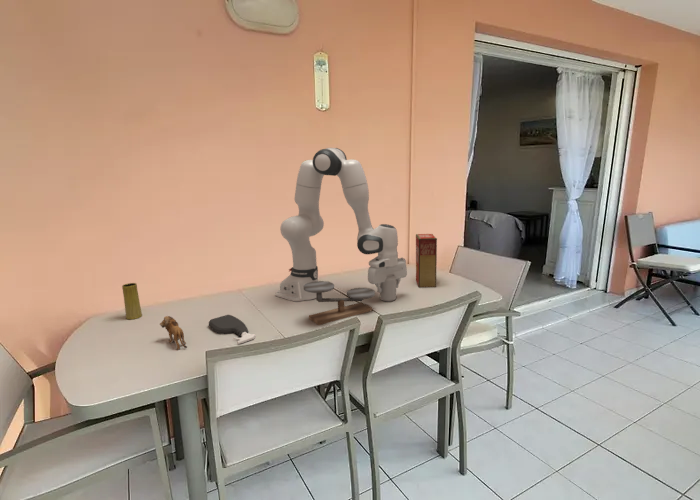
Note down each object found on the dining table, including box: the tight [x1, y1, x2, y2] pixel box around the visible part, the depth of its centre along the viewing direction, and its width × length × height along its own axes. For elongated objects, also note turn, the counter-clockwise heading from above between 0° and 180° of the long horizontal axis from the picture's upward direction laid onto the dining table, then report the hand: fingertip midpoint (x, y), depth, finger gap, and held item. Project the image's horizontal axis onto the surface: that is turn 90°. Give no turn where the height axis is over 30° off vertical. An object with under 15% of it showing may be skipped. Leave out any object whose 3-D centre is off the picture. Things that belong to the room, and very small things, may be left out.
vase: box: [121, 282, 143, 321], centre depth 163 cm, size 6×6×14 cm
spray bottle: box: [208, 314, 257, 345], centre depth 147 cm, size 3×11×24 cm
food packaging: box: [415, 233, 438, 288], centre depth 197 cm, size 13×9×25 cm
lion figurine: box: [159, 315, 188, 351], centre depth 138 cm, size 15×5×9 cm, turn 50°
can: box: [379, 275, 397, 302], centre depth 177 cm, size 8×8×12 cm
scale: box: [303, 280, 376, 326], centre depth 160 cm, size 12×32×15 cm, turn 123°
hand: (388, 289), depth 177 cm, fingers open, 8 cm apart
